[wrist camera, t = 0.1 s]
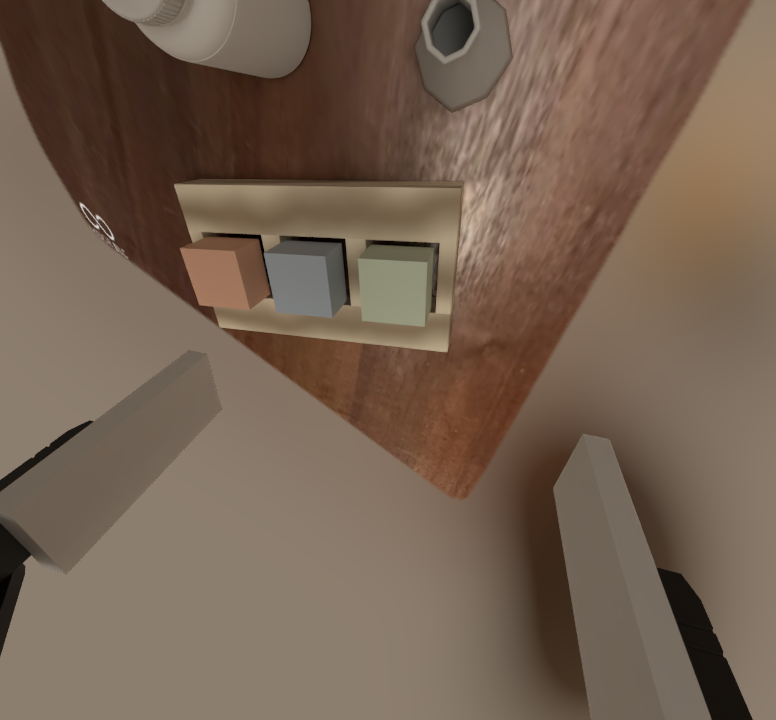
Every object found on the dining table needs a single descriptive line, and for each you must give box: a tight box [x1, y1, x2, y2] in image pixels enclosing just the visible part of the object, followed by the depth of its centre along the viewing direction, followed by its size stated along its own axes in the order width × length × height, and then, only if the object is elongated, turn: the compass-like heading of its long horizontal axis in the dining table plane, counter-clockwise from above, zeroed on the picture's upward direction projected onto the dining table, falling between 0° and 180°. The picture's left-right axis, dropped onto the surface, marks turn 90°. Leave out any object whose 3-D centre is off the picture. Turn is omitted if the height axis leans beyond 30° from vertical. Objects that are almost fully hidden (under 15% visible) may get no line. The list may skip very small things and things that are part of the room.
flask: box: [414, 0, 513, 112], centre depth 24 cm, size 7×7×10 cm
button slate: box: [264, 240, 347, 318], centre depth 35 cm, size 6×6×4 cm
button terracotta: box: [180, 237, 271, 310], centre depth 37 cm, size 6×6×4 cm
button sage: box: [358, 245, 434, 327], centre depth 33 cm, size 6×6×4 cm
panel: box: [174, 179, 464, 352], centre depth 38 cm, size 16×28×4 cm, turn 91°
